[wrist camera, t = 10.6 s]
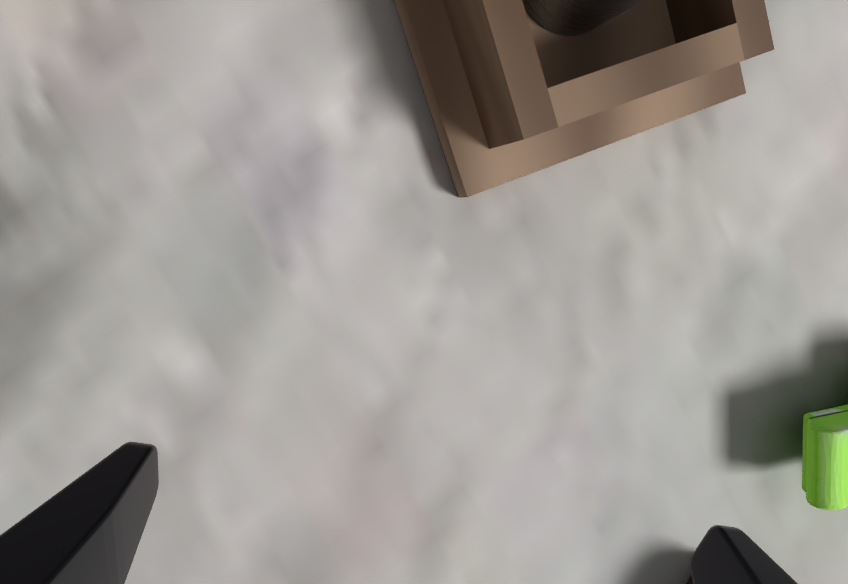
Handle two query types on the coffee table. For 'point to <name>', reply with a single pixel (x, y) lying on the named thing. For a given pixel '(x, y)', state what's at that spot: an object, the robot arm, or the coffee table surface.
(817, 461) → the toy crocodile
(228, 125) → the coffee table surface
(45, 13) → the coffee table surface
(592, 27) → the steel pin
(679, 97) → the walnut box
